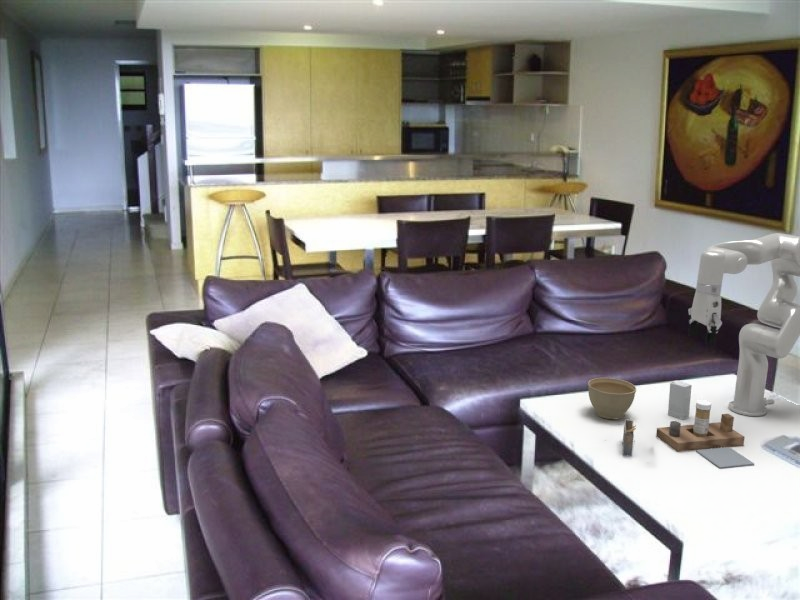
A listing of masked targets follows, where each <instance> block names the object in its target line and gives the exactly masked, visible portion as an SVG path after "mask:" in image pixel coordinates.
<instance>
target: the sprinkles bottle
mask: <svg viewBox="0 0 800 600" xmlns="http://www.w3.org/2000/svg"><path fill="white" fill-rule="evenodd" d="M711 409H712V402H710V401H709V400H706V399H699V400H697V401H696V402H695V415H694V422H693V425H694V429H693V430H694V431H693V435H695V436H696V437H706V436H707V433H708V427H709V423H710V416H711Z"/></svg>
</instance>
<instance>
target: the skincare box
mask: <svg viewBox="0 0 800 600" xmlns="http://www.w3.org/2000/svg"><path fill="white" fill-rule="evenodd" d="M691 396H692V384H690V383H687V382H684V381H679V380H674V381H672V382H670V383H669V395H668V405H667V406H668V407H667V408H668V410H667V415H668V416H671V417H674V418H676V419H680V420H686V419H688V418H689V417H690V406H691V398H692V397H691Z"/></svg>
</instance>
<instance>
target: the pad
mask: <svg viewBox="0 0 800 600" xmlns="http://www.w3.org/2000/svg"><path fill="white" fill-rule="evenodd" d="M695 452H696V453H697V454H699V456H701V457H702V458H704V459H705V460H706V461H708V462H709V463H710V464H712V465H713V466H715V467H717V468H718V469H720V470H722V469H728V468H729V469H730V468H739V467H740V468H741V467H748V466H755V463H754V462H753V461H751V460H750V459H748V458H747V457H745V456H744V455H742V454H740V453H739V452H738V451H737V450H735V449H733V448H732V447H723V448H713V449H703V450H695Z"/></svg>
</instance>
